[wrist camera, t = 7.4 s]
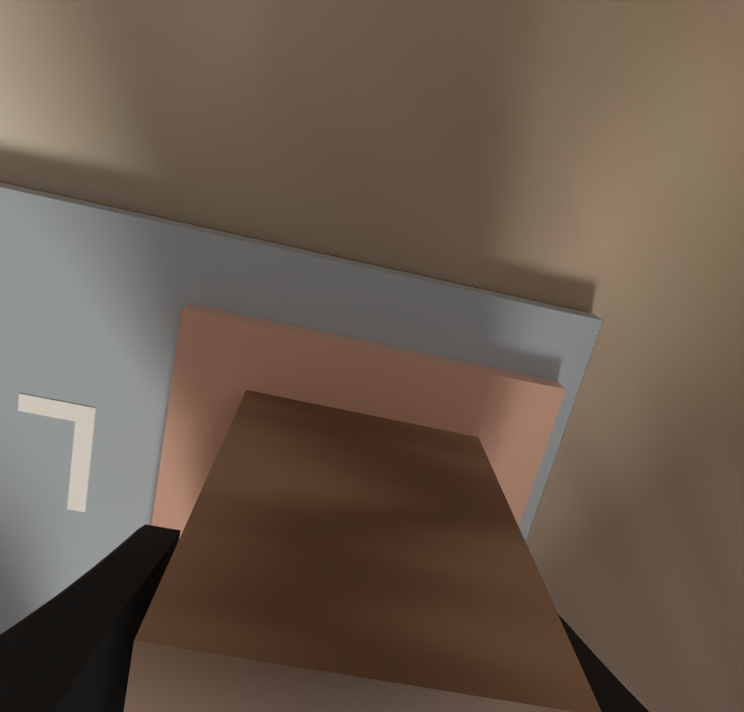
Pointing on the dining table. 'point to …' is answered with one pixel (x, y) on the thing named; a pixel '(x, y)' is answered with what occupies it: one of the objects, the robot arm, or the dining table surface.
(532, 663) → the walnut block
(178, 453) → the terracotta pad
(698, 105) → the dining table surface
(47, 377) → the board
